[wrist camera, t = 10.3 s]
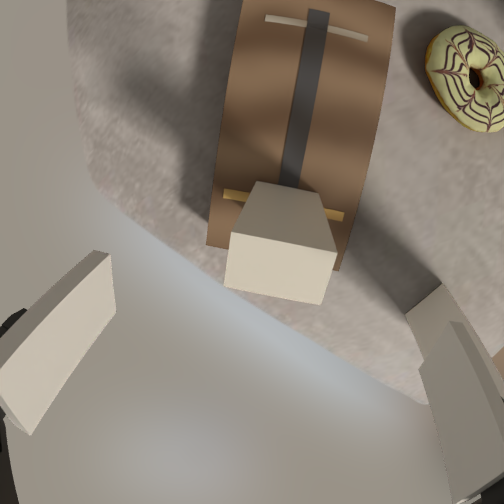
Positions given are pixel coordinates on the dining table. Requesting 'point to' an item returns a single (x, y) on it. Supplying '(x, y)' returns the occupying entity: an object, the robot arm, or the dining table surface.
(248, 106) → the brown flat block
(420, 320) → the milk
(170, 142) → the dining table surface
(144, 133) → the dining table surface
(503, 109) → the decorated donut
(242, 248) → the fader tab
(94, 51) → the dining table surface
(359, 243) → the dining table surface
